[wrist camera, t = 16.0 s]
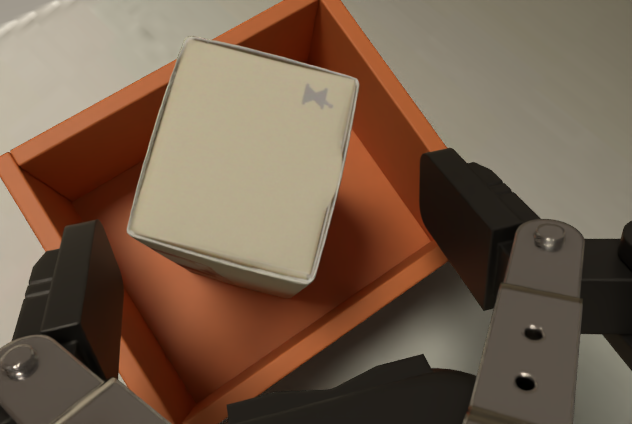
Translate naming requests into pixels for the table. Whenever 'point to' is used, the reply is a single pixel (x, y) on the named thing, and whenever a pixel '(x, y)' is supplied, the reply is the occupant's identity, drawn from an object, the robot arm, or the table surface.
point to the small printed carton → (245, 166)
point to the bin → (216, 296)
